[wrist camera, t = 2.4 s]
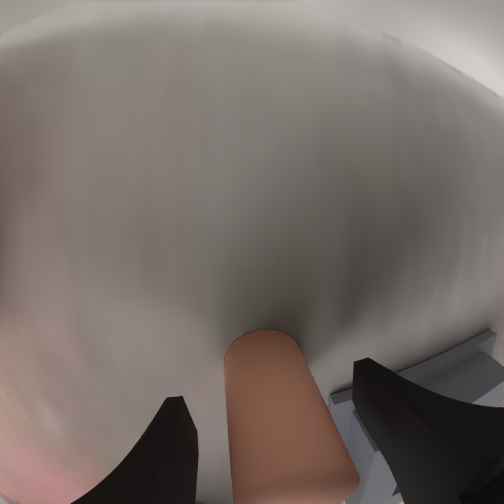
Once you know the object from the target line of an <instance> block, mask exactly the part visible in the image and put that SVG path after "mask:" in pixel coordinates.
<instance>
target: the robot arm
mask: <svg viewBox="0 0 504 504" xmlns="http://www.w3.org/2000/svg"><path fill="white" fill-rule="evenodd" d="M352 401H353V404H354V406H355V408H356V411H357V413H358V415H359V417H360V420H361V421H362V423H363V425H364V426H365V428H366V430H367V431H368V433H369V435H370V436H371V438H372V439H373V441H374V443H375V444H376V446H377V447H378V449H379V451H380V452H381V454H382V455H383V457H384V459H385V460H386V462H387V464H388V466H389V468H390V470H391V472H392V475H393V477H394V479H395V481H396V484H397V486H398V488H399V491H400V493H401V496H402V498H403V501H404V504H504V408H501V407H490V406H483V405H477V404H472V403H467V402H463V401H459V400H456V399H453V398H449V397H446V396H443V395H440V394H438V393H435V392H433V391H430V390H428V389H426V388H424V387H421V386H419V385H417V384H415V383H413V382H411V381H409V380H407V379H405V378H403V377H402V376H400V375H398V374H396V373H394V372H393V371H391V370H389V369H387V368H386V367H384V366H382V365H380V364H379V363H377V362H375V361H374V360H372V359H370V358H365V359H362V360H359V361H355V362H354V370H353V389H352ZM198 455H199V452H198V435H197V429H196V427H195V425H194V422H193V420H192V418H191V415H190V413H189V411H188V408H187V406H186V403H185V401H184V398H183V396H178V397H167V398H166V399H165V401H164V402H163V404H162V406H161V407H160V409H159V410H158V412H157V414H156V415H155V417H154V418H153V420H152V421H151V423H150V425H149V426H148V428H147V429H146V430H145V432H144V433H143V435H142V436H141V438H140V439H139V441H138V442H137V443H136V444H135V446H134V447H133V448H132V450H131V451H130V452H129V453H128V455H127V456H126V457H125V458H124V459H123V461H122V462H121V463H120V464H119V465H118V466H117V467H116V468H115V469H114V470H113V471H112V472H111V473H110V474H109V475H108V476H107V477H106V478H105V479H104V480H102V481H101V482H100V483H99V484H98V485H96V486H95V487H94V488H93V489H92V490H90V491H89V492H88V493H86V494H85V495H83V496H82V497H80V498H79V499H77V500H76V501H74V502H73V503H71V504H195V499H196V484H197V470H198Z"/></svg>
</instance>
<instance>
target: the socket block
mask: <svg viewBox="0 0 504 504" xmlns="http://www.w3.org/2000/svg"><path fill="white" fill-rule="evenodd" d="M495 338H496V333H494V332H493V331H491V330H490V329H488V330H487V331H485V332H483V333H481V334H479V335H478V336H476V337H474V338H472V339H470V340H468V341H466V342H464V343H462V344H460V345H458V346H456V347H454V348H452V349H450V350H448V351H446V352H444V353H442V354H440V355H437V356H435V357H433V358H431V359H429V360H426V361H424V362H422V363H419V364H417V365H415V366H412V367H410V368H407V369H405V370H402V371H400V372H397V373H396V374H398V375H400V376H402V377H403V378H405V379H407V380H409V381H411V382H413V383H415V384H417V385H419V386H421V387H424V388H426V389H428V390H430V391H433V392H435V393H438V394H440V395H443V396H446V397H449V398H453V399H456V400H459V401H463V402H467V403H472V404H477V405H483V406H490V407H499V405H500V403H501V401H502V399H503V397H504V366H502V365H501V364H500V363H498V362H497V361H496V360H495V359H493V358H492V357H491V353H492V349H493V346H494V342H495ZM352 389H353V388H351V389H348V390H345V391H341V392H338V393H335V394H331V395H329V412H330V414H331V416H332V418H333V420H334V423H335V425H336V427H337V429H338V431H339V433H340V435H341V437H342V440H343V442H344V444H345V446H346V448H347V450H348V452H349V454H350V457H351V459H352V461H353V463H354V465H355V467H356V469H357V471H358V473H359V476H360V483H359V486H358V487H357V489H356V490H355V491H354V492H353V494H351V495H350V496H349V497H348V498H347V499H345V501H346V504H397V503H399V502H401V501H403V498H402V496H401V493H400V491H399V488H398V486H397V484H396V481H395V479H394V477H393V475H392V472H391V470H390V468H389V466H388V464H387V462H386V460H385V459H384V457H383V455H382V454H381V452H380V451H379V449H378V447H377V446H376V444H375V443H374V441H373V439H372V438H371V436H370V435H369V433H368V431H367V430H366V428H365V426H364V425H363V423H362V421H361V420H360V417H359V415H358V413H357V411H356V408H355V406H354V404H353V401H352Z"/></svg>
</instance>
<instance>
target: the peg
mask: <svg viewBox="0 0 504 504" xmlns="http://www.w3.org/2000/svg"><path fill="white" fill-rule="evenodd" d="M224 373H225V392H226V409H227V424H228V438H229V452H230V464H231V476H232V487H233V498H234V504H340V503H341V502H343V501H344V500H345V499H347V498H348V497H349V496H350V495H351V494H353V492H354V491H355V490H356V489H357V487H358V486H359V483H360V476H359V473H358V471H357V469H356V467H355V465H354V463H353V461H352V459H351V457H350V454H349V452H348V450H347V448H346V446H345V444H344V442H343V440H342V437H341V435H340V433H339V431H338V429H337V427H336V425H335V423H334V420H333V418H332V416H331V414H330V412H329V410H328V408H327V406H326V404H325V401H324V399H323V397H322V395H321V393H320V391H319V389H318V387H317V385H316V382H315V380H314V378H313V376H312V374H311V372H310V370H309V368H308V366H307V363H306V361H305V359H304V357H303V355H302V353H301V351H300V349H299V347H298V345H297V343H296V342H295V341H294V340H293V339H292V338H291V337H290V336H288V335H287V334H285V333H283V332H280V331H276V330H257V331H253V332H250V333H247V334H245V335H243V336H242V337H240V338H238V339H237V340H236V341H235V342H234V343H233V344H232V345H231V346H230V347H229V349H228V351H227V353H226V355H225V359H224Z"/></svg>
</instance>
